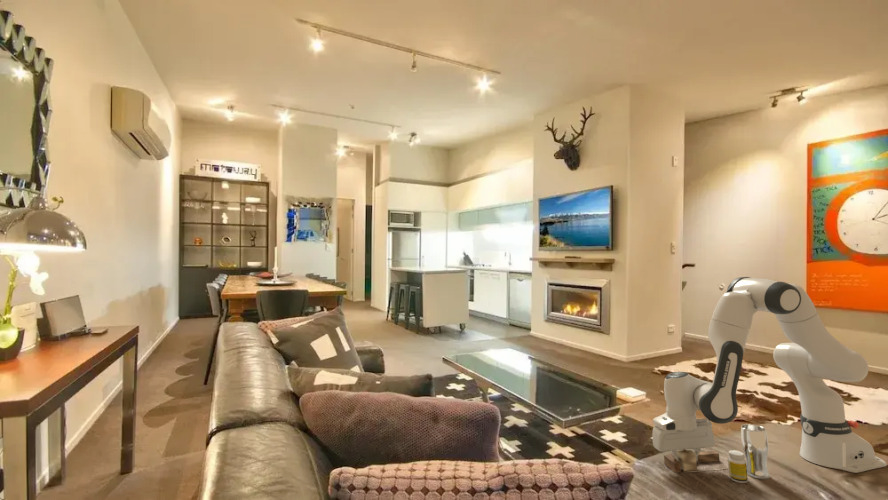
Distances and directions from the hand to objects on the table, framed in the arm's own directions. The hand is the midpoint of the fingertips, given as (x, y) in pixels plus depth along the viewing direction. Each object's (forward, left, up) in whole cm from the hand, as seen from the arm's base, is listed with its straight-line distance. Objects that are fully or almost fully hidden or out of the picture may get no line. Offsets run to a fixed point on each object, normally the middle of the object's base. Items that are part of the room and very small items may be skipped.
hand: (685, 461), depth 138 cm
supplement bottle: (-11, +10, -2) cm, 15 cm away
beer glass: (-19, +8, -2) cm, 21 cm away
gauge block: (0, 0, -2) cm, 2 cm away
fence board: (-4, -1, -2) cm, 5 cm away
